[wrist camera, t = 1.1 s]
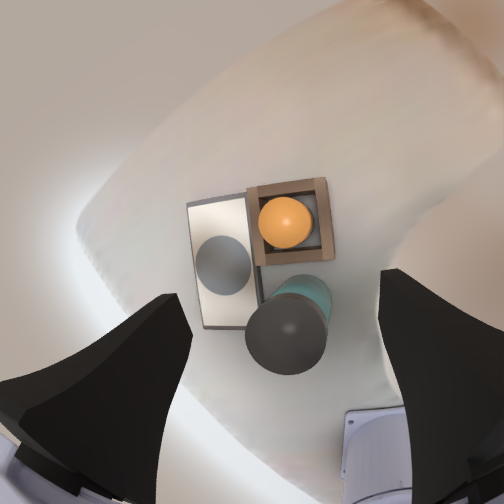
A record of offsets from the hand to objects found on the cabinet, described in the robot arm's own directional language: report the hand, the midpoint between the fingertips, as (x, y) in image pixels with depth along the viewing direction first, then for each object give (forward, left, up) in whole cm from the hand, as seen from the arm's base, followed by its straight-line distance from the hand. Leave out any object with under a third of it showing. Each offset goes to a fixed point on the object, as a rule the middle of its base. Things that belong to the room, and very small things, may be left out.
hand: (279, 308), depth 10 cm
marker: (-3, +1, -11) cm, 11 cm away
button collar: (+3, +1, -11) cm, 11 cm away
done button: (+3, +1, -9) cm, 10 cm away
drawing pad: (0, +6, -11) cm, 12 cm away
